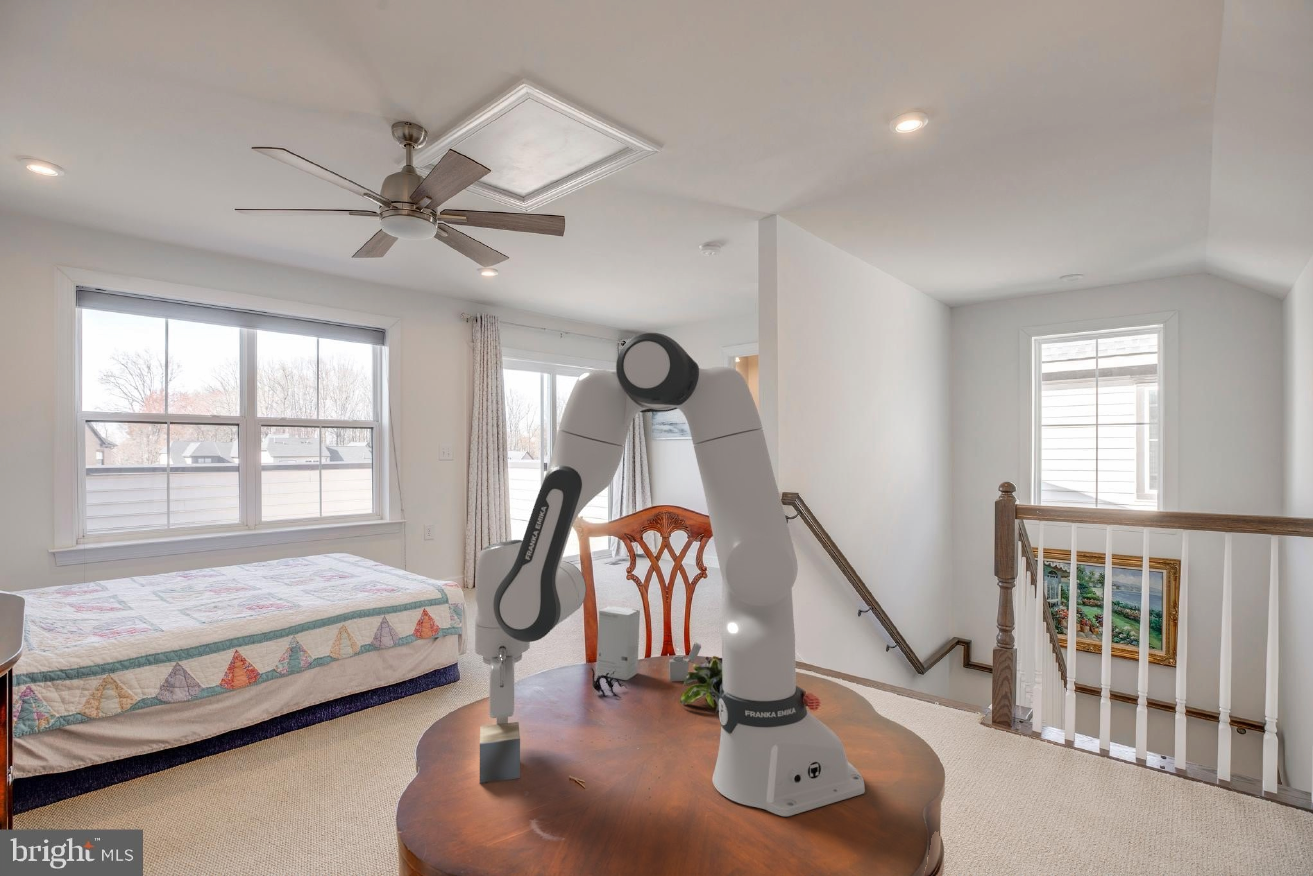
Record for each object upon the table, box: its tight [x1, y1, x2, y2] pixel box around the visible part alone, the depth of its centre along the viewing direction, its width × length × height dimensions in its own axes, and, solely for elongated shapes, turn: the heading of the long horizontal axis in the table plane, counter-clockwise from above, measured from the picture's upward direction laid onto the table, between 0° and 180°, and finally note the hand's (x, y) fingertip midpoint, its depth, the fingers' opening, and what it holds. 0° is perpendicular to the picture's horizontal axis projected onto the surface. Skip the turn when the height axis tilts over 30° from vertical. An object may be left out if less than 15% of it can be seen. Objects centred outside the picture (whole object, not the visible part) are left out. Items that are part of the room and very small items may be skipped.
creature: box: [590, 667, 627, 699], centre depth 131 cm, size 8×5×8 cm
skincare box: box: [595, 605, 641, 681], centre depth 142 cm, size 8×6×15 cm
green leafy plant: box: [679, 655, 722, 715], centre depth 123 cm, size 11×11×12 cm
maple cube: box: [479, 721, 521, 784], centre depth 98 cm, size 6×6×6 cm
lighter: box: [668, 642, 702, 682], centre depth 139 cm, size 7×2×8 cm, turn 95°
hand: (502, 724), depth 102 cm, fingers closed
